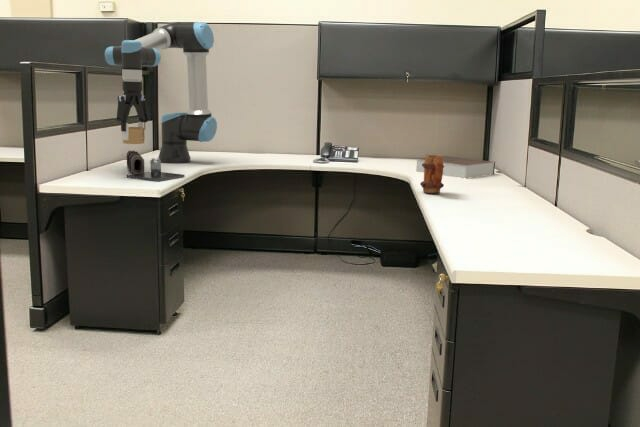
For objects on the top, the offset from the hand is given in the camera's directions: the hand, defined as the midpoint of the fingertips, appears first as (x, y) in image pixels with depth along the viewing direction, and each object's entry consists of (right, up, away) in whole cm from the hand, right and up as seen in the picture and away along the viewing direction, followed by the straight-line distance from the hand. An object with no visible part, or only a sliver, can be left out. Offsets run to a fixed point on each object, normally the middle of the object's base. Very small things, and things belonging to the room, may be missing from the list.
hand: (133, 139), depth 260 cm
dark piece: (+8, -15, +3) cm, 18 cm away
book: (+138, -11, +49) cm, 147 cm away
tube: (-5, -12, +20) cm, 23 cm away
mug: (+117, -23, -14) cm, 120 cm away
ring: (0, -2, 0) cm, 2 cm away
